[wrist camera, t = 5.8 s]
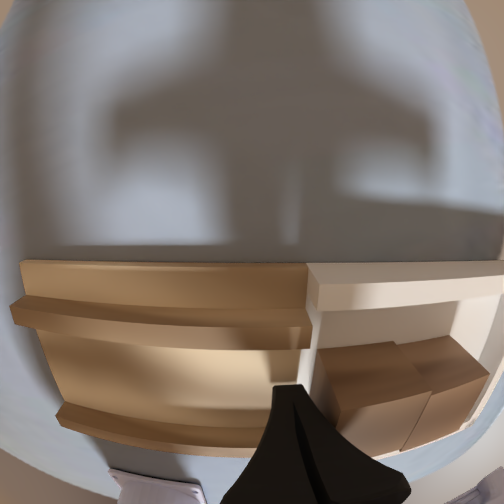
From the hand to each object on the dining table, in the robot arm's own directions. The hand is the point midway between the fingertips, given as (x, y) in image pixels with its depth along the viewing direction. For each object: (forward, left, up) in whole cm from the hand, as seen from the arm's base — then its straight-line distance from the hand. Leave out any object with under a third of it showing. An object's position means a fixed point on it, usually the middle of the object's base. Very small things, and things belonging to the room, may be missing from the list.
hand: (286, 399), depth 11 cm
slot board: (0, +6, -2) cm, 7 cm away
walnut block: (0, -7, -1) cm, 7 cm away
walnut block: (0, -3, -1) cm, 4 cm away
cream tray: (0, -8, -2) cm, 8 cm away
